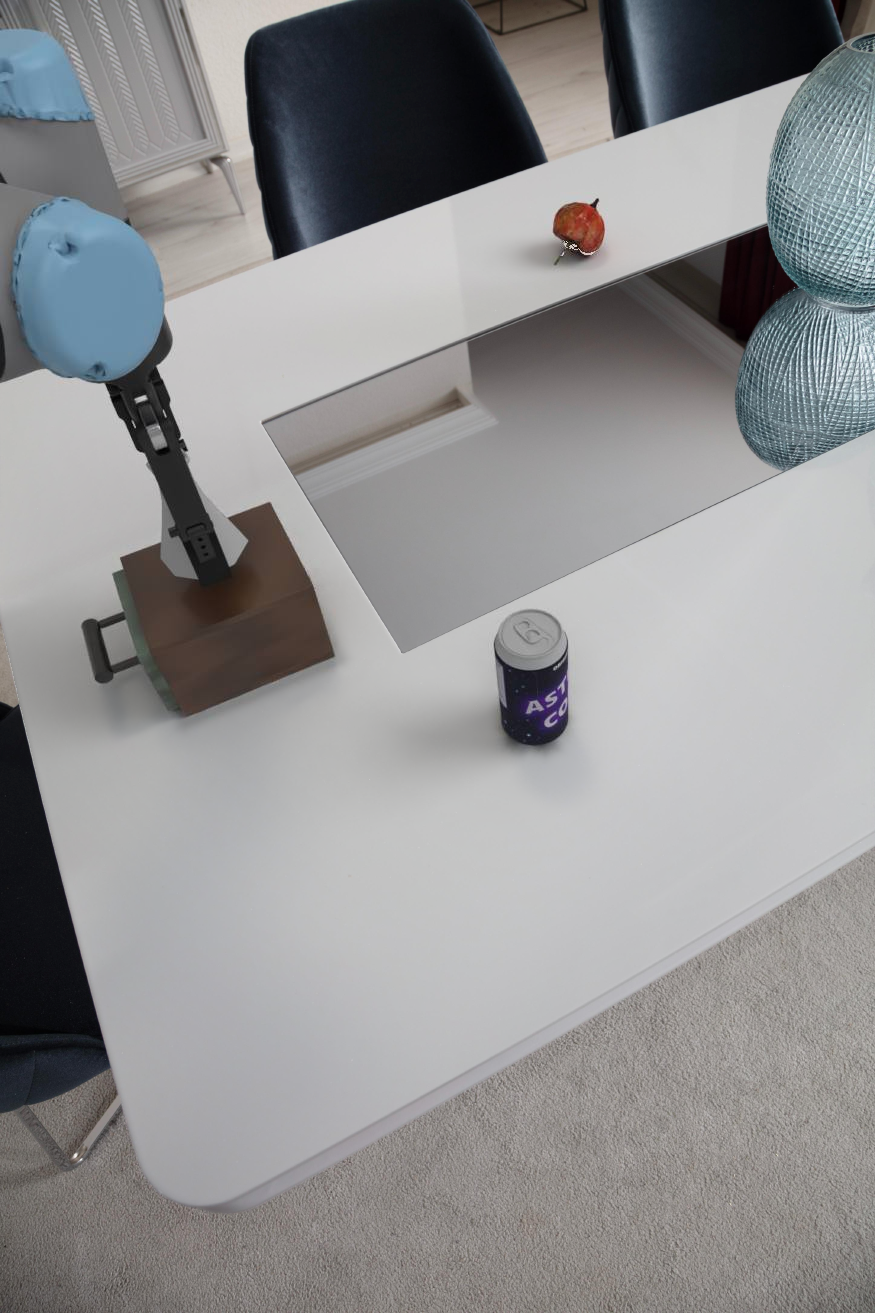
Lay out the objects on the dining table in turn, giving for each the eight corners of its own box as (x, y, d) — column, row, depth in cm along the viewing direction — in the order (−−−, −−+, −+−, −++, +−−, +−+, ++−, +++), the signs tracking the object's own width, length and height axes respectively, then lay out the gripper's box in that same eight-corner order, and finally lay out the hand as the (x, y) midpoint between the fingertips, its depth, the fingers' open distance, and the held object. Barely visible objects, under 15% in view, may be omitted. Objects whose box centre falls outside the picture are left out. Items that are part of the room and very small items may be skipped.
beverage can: (527, 763, 77) (521, 673, 68) (489, 718, 80) (478, 627, 71) (582, 729, 78) (583, 637, 69) (542, 686, 82) (538, 593, 72)
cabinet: (186, 717, 84) (149, 649, 77) (155, 626, 92) (119, 557, 84) (335, 656, 87) (313, 585, 79) (293, 572, 94) (270, 501, 87)
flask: (147, 563, 80) (102, 472, 72) (204, 513, 83) (167, 421, 76) (206, 593, 77) (166, 501, 69) (263, 540, 80) (231, 446, 72)
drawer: (121, 731, 83) (86, 677, 77) (98, 646, 90) (64, 590, 84) (308, 655, 86) (288, 598, 80) (271, 578, 93) (251, 520, 87)
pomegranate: (581, 287, 127) (631, 225, 124) (549, 254, 122) (600, 189, 119) (555, 270, 132) (602, 210, 129) (524, 238, 127) (572, 175, 125)
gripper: (26, 259, 68) (137, 498, 85) (71, 399, 55) (191, 645, 73) (125, 229, 69) (215, 470, 87) (191, 358, 57) (280, 609, 74)
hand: (204, 549), depth 80 cm, fingers closed on flask, 7 cm apart
